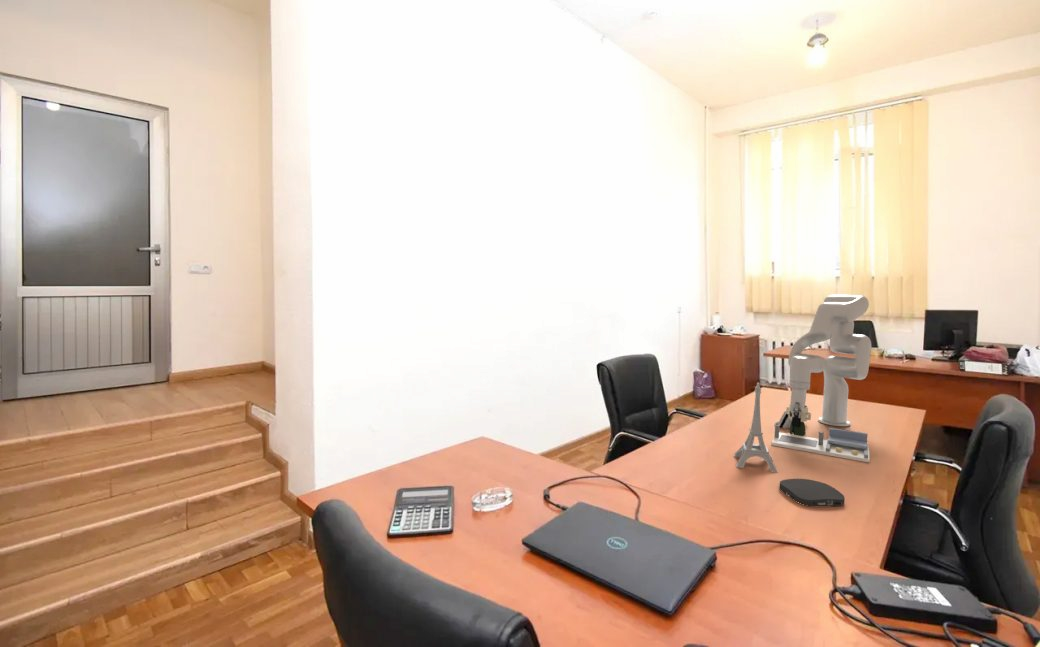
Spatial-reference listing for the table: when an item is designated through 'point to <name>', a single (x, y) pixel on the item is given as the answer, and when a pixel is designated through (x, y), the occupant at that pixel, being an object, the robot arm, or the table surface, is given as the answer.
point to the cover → (848, 438)
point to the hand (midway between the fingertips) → (797, 424)
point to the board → (819, 446)
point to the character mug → (804, 417)
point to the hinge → (784, 421)
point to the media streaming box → (812, 492)
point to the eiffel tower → (755, 431)
